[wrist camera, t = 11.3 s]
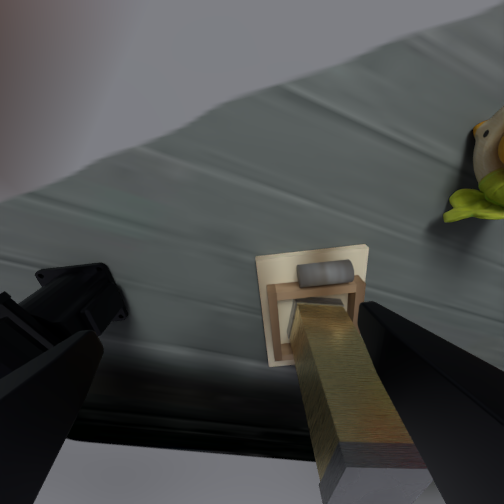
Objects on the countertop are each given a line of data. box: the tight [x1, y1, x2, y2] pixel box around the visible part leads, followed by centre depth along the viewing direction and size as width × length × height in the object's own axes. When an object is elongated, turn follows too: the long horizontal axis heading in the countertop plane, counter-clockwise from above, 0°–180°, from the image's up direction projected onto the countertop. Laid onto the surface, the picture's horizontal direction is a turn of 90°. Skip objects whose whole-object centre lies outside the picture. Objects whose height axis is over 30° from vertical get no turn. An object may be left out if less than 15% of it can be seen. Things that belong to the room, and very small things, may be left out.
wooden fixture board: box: [256, 244, 369, 367], centre depth 23 cm, size 10×14×3 cm
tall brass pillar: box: [287, 297, 433, 504], centre depth 17 cm, size 5×5×13 cm
